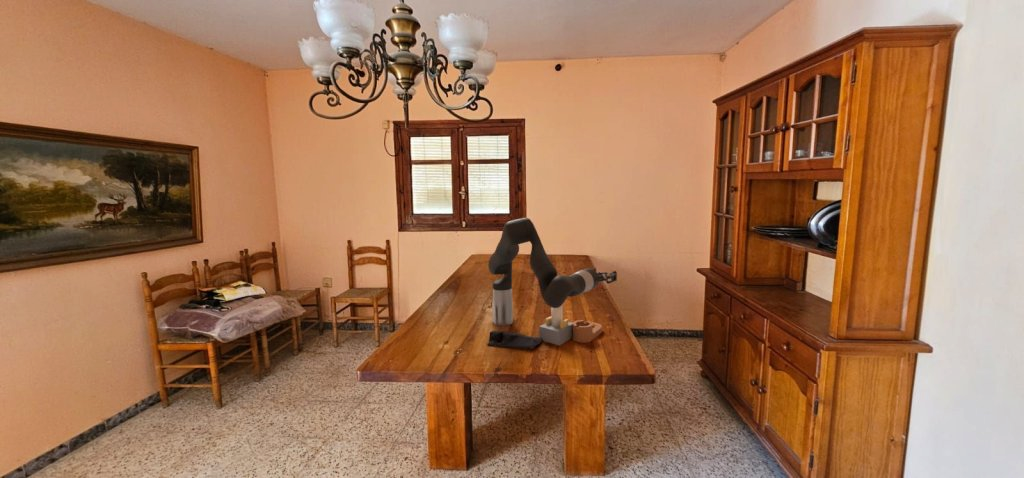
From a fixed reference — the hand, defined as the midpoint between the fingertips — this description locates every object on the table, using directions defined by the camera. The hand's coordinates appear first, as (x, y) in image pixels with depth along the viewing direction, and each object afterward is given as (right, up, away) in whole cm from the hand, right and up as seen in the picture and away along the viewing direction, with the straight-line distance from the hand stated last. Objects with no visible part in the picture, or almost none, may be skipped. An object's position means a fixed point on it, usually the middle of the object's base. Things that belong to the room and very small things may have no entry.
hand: (605, 272), depth 151 cm
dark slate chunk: (-34, -32, +17) cm, 50 cm away
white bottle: (-16, -24, +19) cm, 35 cm away
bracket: (-2, -30, +22) cm, 37 cm away
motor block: (-15, -30, +21) cm, 40 cm away
